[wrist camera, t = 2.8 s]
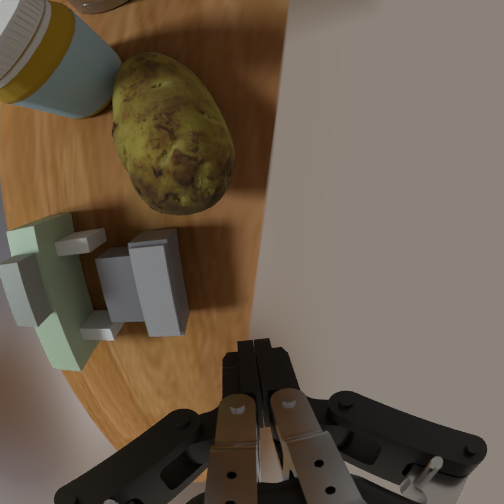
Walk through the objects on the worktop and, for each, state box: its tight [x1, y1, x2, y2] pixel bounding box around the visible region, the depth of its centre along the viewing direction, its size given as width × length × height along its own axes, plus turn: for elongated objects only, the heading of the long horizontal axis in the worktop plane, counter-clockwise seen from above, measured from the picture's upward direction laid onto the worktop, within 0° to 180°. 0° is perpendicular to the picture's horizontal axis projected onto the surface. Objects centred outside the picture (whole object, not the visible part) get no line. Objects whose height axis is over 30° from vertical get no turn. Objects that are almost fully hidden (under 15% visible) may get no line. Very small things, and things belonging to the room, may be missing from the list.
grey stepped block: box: [95, 228, 190, 337], centre depth 21 cm, size 8×6×4 cm
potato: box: [112, 51, 235, 215], centre depth 16 cm, size 8×13×8 cm, turn 6°
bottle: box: [0, 0, 123, 119], centre depth 11 cm, size 7×7×15 cm
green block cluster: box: [0, 212, 125, 371], centre depth 19 cm, size 13×7×8 cm, turn 4°
